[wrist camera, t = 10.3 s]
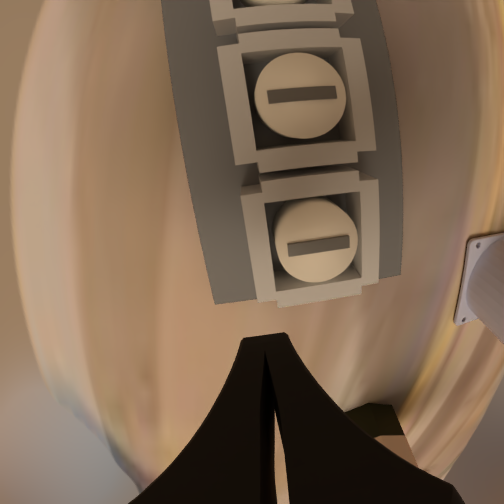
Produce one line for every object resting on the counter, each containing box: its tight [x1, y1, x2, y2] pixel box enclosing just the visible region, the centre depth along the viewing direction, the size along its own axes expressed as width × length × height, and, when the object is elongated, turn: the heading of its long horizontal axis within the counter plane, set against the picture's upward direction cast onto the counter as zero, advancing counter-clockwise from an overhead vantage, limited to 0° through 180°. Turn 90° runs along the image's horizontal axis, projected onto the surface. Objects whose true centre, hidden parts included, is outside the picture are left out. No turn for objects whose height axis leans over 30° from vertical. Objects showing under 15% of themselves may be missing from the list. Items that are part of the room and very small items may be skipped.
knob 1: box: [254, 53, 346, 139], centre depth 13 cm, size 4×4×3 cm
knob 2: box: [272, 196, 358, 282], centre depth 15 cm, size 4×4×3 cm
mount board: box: [161, 0, 403, 308], centre depth 14 cm, size 12×22×4 cm, turn 8°
